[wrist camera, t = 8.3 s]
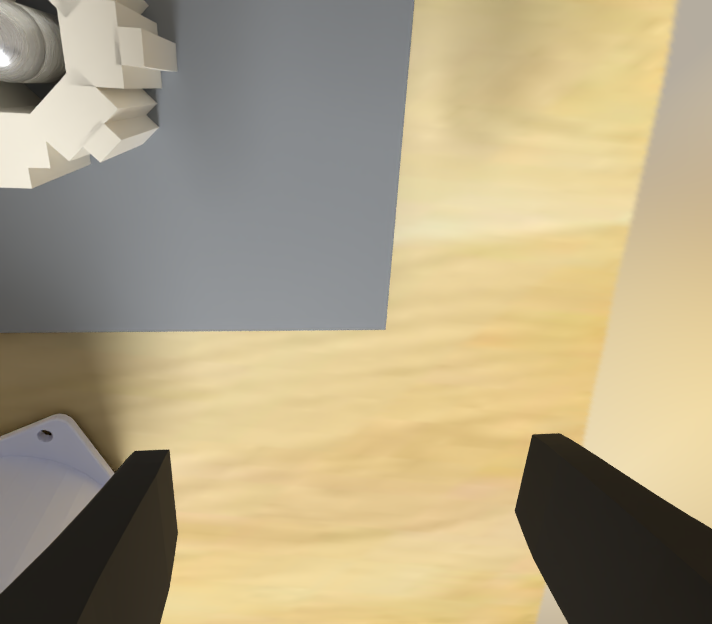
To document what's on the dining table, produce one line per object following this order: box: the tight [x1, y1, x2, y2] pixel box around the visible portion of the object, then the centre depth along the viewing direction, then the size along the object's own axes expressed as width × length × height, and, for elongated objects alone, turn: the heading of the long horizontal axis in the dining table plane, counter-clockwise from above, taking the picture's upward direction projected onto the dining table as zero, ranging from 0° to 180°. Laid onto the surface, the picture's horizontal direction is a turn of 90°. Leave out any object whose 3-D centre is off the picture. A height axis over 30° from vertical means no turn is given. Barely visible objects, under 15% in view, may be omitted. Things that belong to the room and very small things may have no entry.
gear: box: [0, 0, 178, 189], centre depth 12 cm, size 6×6×4 cm
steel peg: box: [0, 0, 66, 84], centre depth 12 cm, size 2×2×4 cm
